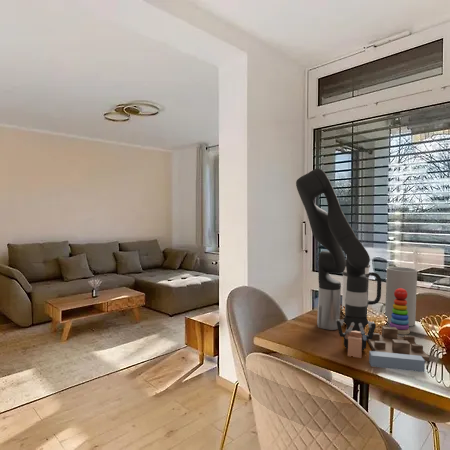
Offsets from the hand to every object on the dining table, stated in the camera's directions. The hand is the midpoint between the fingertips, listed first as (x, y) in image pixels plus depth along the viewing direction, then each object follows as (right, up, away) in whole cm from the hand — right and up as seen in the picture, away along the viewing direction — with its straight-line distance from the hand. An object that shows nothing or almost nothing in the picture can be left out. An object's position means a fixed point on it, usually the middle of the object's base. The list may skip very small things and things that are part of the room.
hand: (354, 348), depth 131 cm
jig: (+16, -1, +2) cm, 16 cm away
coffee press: (+18, +1, +47) cm, 51 cm away
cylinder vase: (+33, 0, +33) cm, 47 cm away
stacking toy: (+26, 0, +20) cm, 33 cm away
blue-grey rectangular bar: (+8, -1, -14) cm, 16 cm away
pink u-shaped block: (0, -1, 0) cm, 1 cm away
